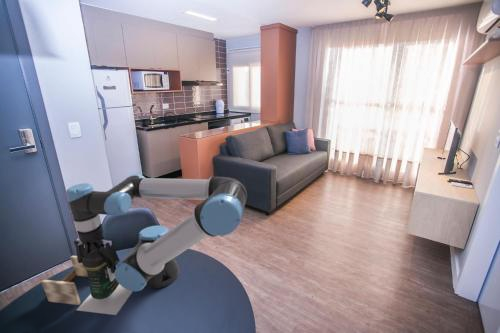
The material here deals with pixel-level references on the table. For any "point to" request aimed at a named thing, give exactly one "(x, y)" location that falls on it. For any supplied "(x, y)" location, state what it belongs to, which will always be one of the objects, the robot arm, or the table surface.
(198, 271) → the table surface
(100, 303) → the mat
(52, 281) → the shelf bay
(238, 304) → the table surface
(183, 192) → the robot arm
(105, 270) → the coffee jar
